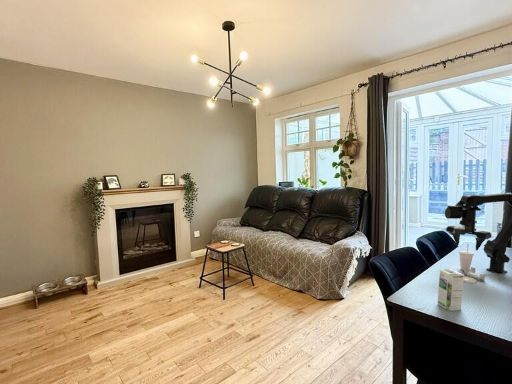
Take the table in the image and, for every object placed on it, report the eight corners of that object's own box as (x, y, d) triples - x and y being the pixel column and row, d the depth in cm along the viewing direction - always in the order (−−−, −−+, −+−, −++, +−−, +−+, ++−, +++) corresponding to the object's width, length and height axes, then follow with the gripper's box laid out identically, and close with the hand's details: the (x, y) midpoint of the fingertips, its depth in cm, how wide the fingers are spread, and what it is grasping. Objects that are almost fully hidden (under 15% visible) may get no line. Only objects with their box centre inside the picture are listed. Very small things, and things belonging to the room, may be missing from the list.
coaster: (462, 275, 138) (462, 274, 138) (480, 281, 131) (480, 280, 131) (452, 278, 135) (452, 277, 135) (470, 284, 128) (470, 283, 128)
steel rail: (471, 272, 141) (472, 267, 141) (492, 279, 133) (492, 273, 133) (463, 275, 138) (463, 269, 138) (483, 281, 130) (483, 275, 130)
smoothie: (475, 272, 142) (477, 246, 140) (461, 271, 143) (463, 245, 142) (468, 267, 148) (470, 242, 147) (455, 267, 149) (456, 242, 148)
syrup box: (436, 303, 110) (438, 269, 109) (450, 303, 111) (452, 268, 109) (447, 311, 105) (449, 274, 103) (462, 310, 105) (464, 274, 104)
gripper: (440, 217, 148) (439, 245, 150) (479, 223, 131) (477, 255, 133) (453, 215, 153) (451, 242, 154) (493, 221, 136) (491, 252, 137)
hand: (466, 247), depth 144 cm, fingers open, 9 cm apart
